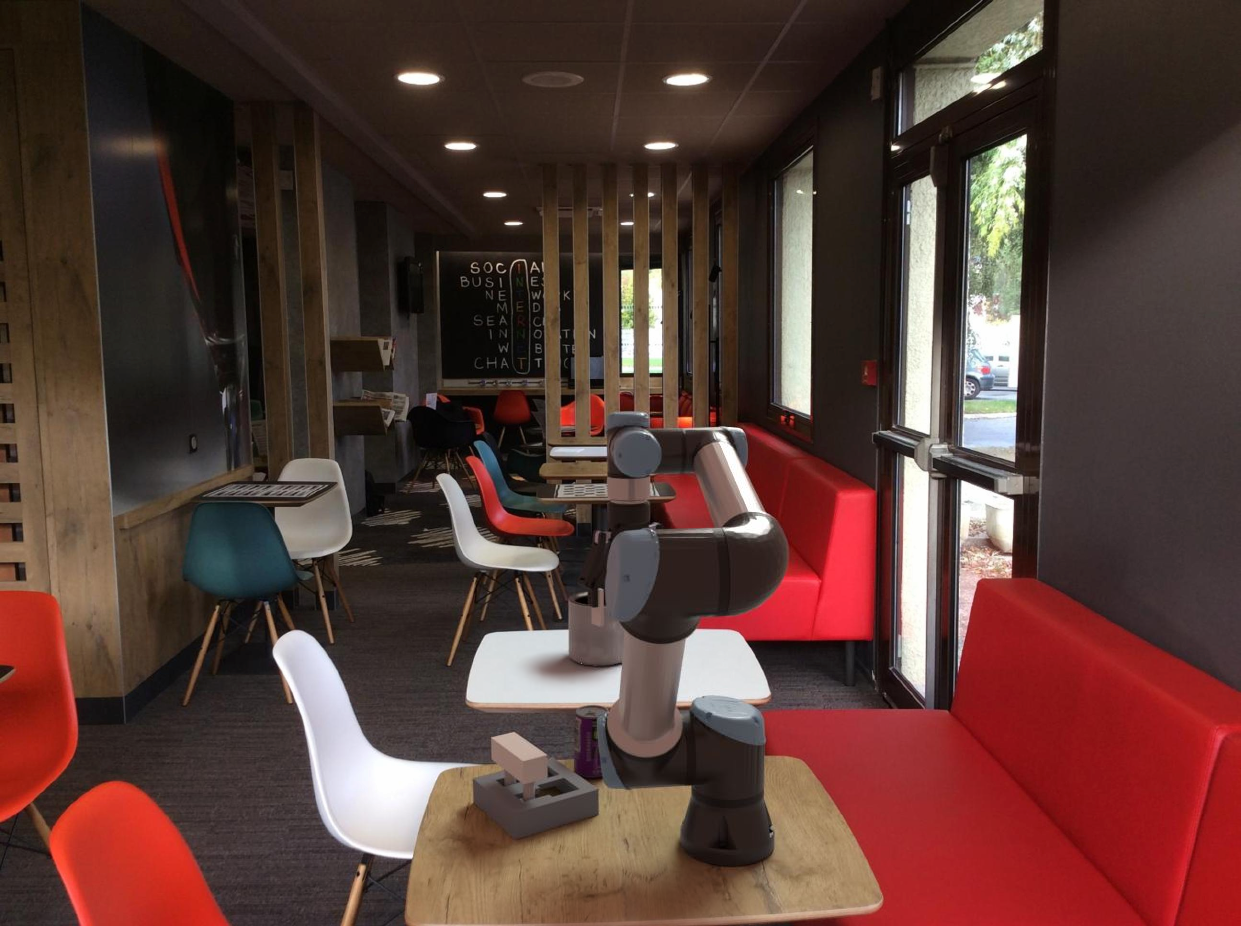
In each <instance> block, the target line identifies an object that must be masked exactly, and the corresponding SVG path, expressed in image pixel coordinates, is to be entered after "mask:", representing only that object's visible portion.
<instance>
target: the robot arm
mask: <svg viewBox="0 0 1241 926" xmlns="http://www.w3.org/2000/svg"><path fill="white" fill-rule="evenodd" d="M605 435H606V463H607V464H606V465H607V466H606V467H607V471H606V473H607V475H606V479H607V480H606V482H607V483H606V484H607V485H606V487H607V489H606V490H607V491H606V493H607V497H606V498H608V499H609V501H608V502H607V505H606V507H607V515H606V516H607V522H608V530H607V531H600V530H594V531H593V532H592V540H591V545H590V548H589V550H588V553H587V556H586V558H585V560H584V562H583V566H582V569H581V571H580V574H579V576H578V579H577V580H576V581H577V585H578V586H581V587H584V588H586V589H587V591H588V605H589V606H590V607H591V613H592V624H594V625H597V626H599V627H602V626H604V590H605V598H606V607H607V612H608V614H609V616H610V617H611V618H613V619H615V620H618V622H619V624H620V626H621V627H622V628H623V630H624V631H625V634H624V646H623V658H622V663H621V670H620V671H621V673H620V684H619V695H618V699H617V700H616V701H615V702H614V703H613V704H612V705H611V708H610V709H609V712H606V713H604V714H600V715H599V716H598V718H597V733H598V745H599V754H600V761H601V770H602V776H601V777H602V780H603V783H604V785H605V786H606V787H608V788H609V789H612V790H614V789H615V790H625V791H631V790H637V789H655V788H672V787H674V788H675V787H690V786H691V788H690V789H691V792H690V794H691V795H690V799H689V802H688V806H687V809H686V812H685V816H684V818H683V820H682V822H681V824H680V829H679V831H680V833H679V835H680V840H679V841H680V846H681V848H682V849H683V851H684V852H685V853H687V855H689V856H690V857H692V858H694V859H696V860H699V861H701V862H704V863H708V864H710V865H715V866H725V867H726V866H727V867H737V866H747V865H750V864H751V865H752V864H754V863H758V862H761V861H762V860H765V859H766V858H767V857H770V855H771V854H772V853H773V851H774V849H775V841H776V840H775V834H776V833H775V829H774V825H773V823H772V822H773V821H772V818H771V816H770V813H769V809H768V806H767V803H766V800H765V753H766V752H765V751H766V750H765V749H766V748H765V747H766V742H767V738H766V731H765V720H764V716H763V715H762V713H761V711H760V710H759V709H758V708H756V707H755V706H754V705H752V704H751V703H748V702H747V701H743V700H741V699H738V698H734V697H730V696H724V695H702V696H700V697H696V698H695V699H693V700H692V702H691V704H690V706H689V709H685V710H684V709H681V710H679V709H678V707H677V701H678V695H679V687H680V683H681V682H680V680H681V674H682V673H681V672H682V667H683V663H684V662H683V660H684V655H685V654H684V653H685V647H686V641H687V639H688V638H689V637H690V636H692V635H693V634H694V633H695V632H696V629H698V627H699V624H700V622H701V618H702V619H703V618H721V617H723V618H724V617H736V616H741V615H744V614H747V613H749V612H751V611H753V610H756V609H757V608H759V607H760V606H762V605H763V604H764V603H765V602H766V601H767V600H769V599H770V598H771V597H772V596H773V595H774V594H775V592H776V591H777V590H778V588H779V586H780V585H781V583H783V582H782V581H783V580H784V578H785V574H786V572H787V570H788V567H789V566H788V565H789V560H790V551H789V543H788V539H787V537H786V534H785V533H784V530H783V528H782V525H781V524H780V523H779V522H778V520H777V519H776V518H775V517H773V516H772V515H771V514H769V513H767V512H766V510H765V508H764V506H763V503H762V502H761V500H760V497H759V495H758V493H757V492H756V490H755V487H754V486H753V484H752V482H751V479H750V477H749V475H748V473H747V471H746V466H747V465H748V456H749V447H748V441H747V435H746V433H745V431H744V429H742V428H740V427H730V426H729V427H728V426H718V427H717V426H714V427H710V426H709V427H681V428H680V427H676V428H675V427H672V428H671V427H669V428H667V427H666V428H665V427H663V428H661V427H659V428H651V426H650V416H649V414H648V413H646V412H644V411H614V412H611V413H609V414H608V415H607V417H606V428H605ZM665 474H666V475H672V474H673V475H674V474H675V475H676V474H678V475H679V474H695V476H696V478H697V482H698V484H699V486H700V489H701V493H702V494H703V498H704V501H705V502H706V506H707V509H708V512H709V515H710V517H711V521H712V522H713V525H714V527H698V528H696V527H695V528H693V527H692V528H667V529H666V528H665V527H664V525H663V523H659V522H651V523H650V524H649V522H650V521H651V502H650V501H649V499H650V497H651V475H665ZM606 544H607V547H606ZM604 581H605V587H604V589H603V588H601V586H602V585H603V583H604Z"/></svg>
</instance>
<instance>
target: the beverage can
mask: <svg viewBox="0 0 1241 926" xmlns="http://www.w3.org/2000/svg"><path fill="white" fill-rule="evenodd" d="M609 711H610V709H609V708H608V707H606V706H603V705H599V704H589V705H583V706H580V707H578V708H576V710H575V715H574V718H573V720H572V721H573V725H572V726H573V727H572V728H573V729H572V730H573V772H574V773H576V774H577V775H579V776H581V777H584V778H591V779H596V778H602V777H603V776H602V770H601V761H600V754H599V745H598V733H597V718H598V716H599V715H600V714H604V713H606V712H609Z"/></svg>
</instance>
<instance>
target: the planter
mask: <svg viewBox="0 0 1241 926" xmlns="http://www.w3.org/2000/svg"><path fill="white" fill-rule="evenodd" d="M567 602H568V656H569V658H570V659H572V661H574V662H575V663H577V662H578V663H577V664H580V663H582V664H581V665H583V664H587V665H586V666H589V665H596V666H595V667H605V666H604V665H610V666H614V665H613V664H616V665H619V664H618V663H620V664H622V658H623V646H624V634H625V631H624V630H623V628H622V627H621V626H620V624H619V622H618V620H615V619H613V618H611V617H610V616H609V614H608V612H607V607H606V598H605V589H604V626H602V627H599V626H597V625H594V624H592V613H591V607H590V606H589V605H588V590H586V591H580V592H577V593H574V594H572V595H570V596H568V601H567Z"/></svg>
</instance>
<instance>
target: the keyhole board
mask: <svg viewBox="0 0 1241 926" xmlns="http://www.w3.org/2000/svg"><path fill="white" fill-rule="evenodd" d="M547 773H548V778H545V779H542V780H538V781H535V796H536V795H539V794H541V790H545V789H548V788H551V787H554V788H556V789H557V790H559V791H560V792H561V794H558V795H554V796H552V795H550V794H546V795H543V796H540V797H535V799H532V800H528V801H525V802H523V800H522V801H521V800H520V799H521V798H522V799H523V784H522V783H521V782H520V781H519V780H517V779H516V784H512V785H508V786H504V769H503V770H499V771H494V772H491V773H487V774H483V775H480V776H475V777H473V778H472V800H473V804H474V805H476V806H477V807H478V808H479V809H480V810H481V811H482V812H484V814H486V816H488V817H489V818H490V819H491V820H492V821H494V823H496V824H497V825H498V826H499V827H500V828H502V830H503V831H505V833H507V834H508V835H509V836H510V837H512V838H513V839H514V840H518V839H522V838H525V837H528V836H531V835H535V834H539V833H542V832H545V831H548V830H552V829H554V828H557V827H561V826H565V825H567V824H571V823H575V822H577V821H580V820H584V819H588V818H591V817H593V816H594V817H595V816H598V815H600V814H599V813H600V811H599V809H600V807H599V805H600V804H599V799H600V798H599V795H600V794H599V789H598V788H597V787H596V786H594V785H593V784H591V783H590V782H589V781H587V780H586V779H584V778H583V776H581V775H580V774H578V773H576V772H575V771H574V770H571V769H570V768H569V767H568V766H566V765H565V764H563V762H560V761H559V760H558V759H556V758H554V757H549V758H548V757H547Z"/></svg>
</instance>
